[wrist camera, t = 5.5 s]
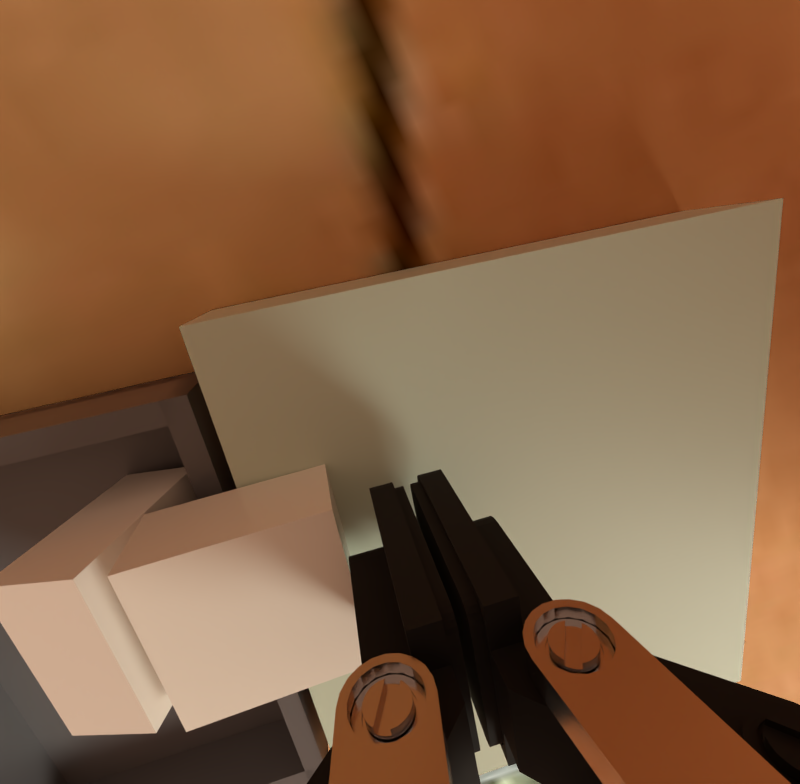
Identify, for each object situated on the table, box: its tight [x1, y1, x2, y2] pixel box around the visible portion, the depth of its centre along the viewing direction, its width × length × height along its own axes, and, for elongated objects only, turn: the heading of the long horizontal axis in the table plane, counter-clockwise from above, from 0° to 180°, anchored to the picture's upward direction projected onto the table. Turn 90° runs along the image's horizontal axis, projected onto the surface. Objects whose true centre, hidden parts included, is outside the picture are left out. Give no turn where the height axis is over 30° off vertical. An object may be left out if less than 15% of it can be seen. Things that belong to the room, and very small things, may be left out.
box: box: [0, 372, 328, 784], centre depth 12 cm, size 9×13×2 cm
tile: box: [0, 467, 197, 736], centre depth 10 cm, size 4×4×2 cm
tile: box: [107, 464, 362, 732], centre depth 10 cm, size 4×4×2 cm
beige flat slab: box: [179, 198, 783, 775], centre depth 13 cm, size 14×16×3 cm
